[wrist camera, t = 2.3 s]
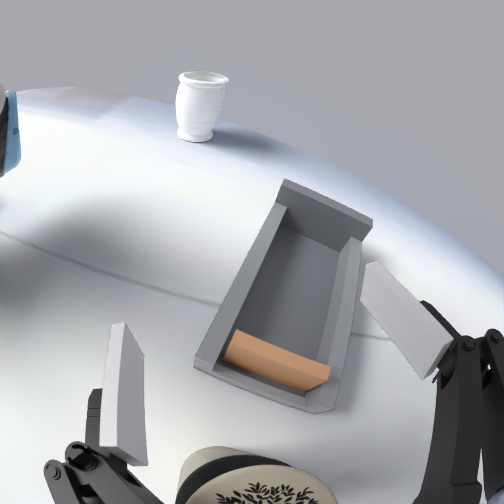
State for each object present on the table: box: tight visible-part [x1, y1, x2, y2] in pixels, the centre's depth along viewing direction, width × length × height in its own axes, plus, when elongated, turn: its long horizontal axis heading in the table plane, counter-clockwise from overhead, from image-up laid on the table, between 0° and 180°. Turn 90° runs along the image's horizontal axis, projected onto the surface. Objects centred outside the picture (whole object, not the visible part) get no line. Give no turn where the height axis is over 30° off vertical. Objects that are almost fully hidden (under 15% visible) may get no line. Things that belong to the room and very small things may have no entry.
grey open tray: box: [194, 179, 373, 414], centre depth 33 cm, size 15×28×8 cm, turn 160°
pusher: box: [222, 329, 331, 392], centre depth 26 cm, size 10×2×6 cm, turn 70°
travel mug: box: [175, 446, 338, 504], centre depth 13 cm, size 8×8×18 cm
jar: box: [176, 72, 228, 142], centre depth 53 cm, size 11×10×15 cm
